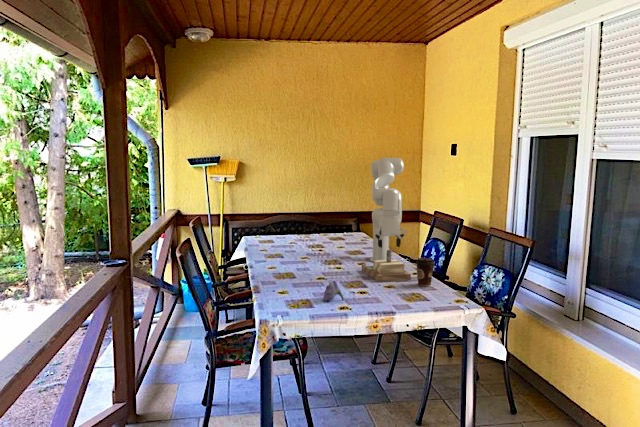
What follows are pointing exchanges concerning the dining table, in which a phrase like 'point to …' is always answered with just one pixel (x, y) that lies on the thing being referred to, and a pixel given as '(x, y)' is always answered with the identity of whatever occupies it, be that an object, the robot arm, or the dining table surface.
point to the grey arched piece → (332, 291)
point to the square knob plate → (388, 265)
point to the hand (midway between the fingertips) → (389, 247)
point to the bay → (385, 275)
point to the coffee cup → (424, 271)
